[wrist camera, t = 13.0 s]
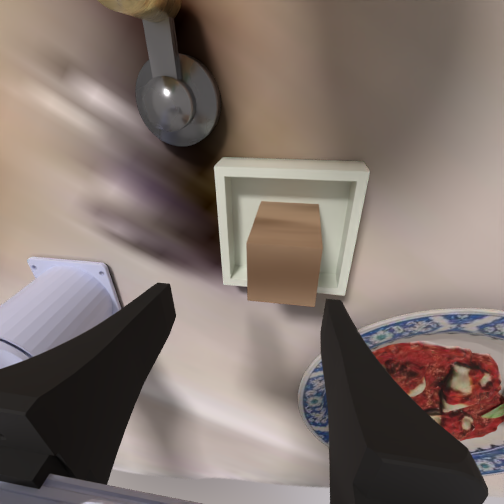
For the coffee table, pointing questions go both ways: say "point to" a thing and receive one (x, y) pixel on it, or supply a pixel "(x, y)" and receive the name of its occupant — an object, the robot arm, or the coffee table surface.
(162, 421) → the coffee table surface
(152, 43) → the brass cylinder knob
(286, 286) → the block
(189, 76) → the disc
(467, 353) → the ceramic plate
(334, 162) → the tray
